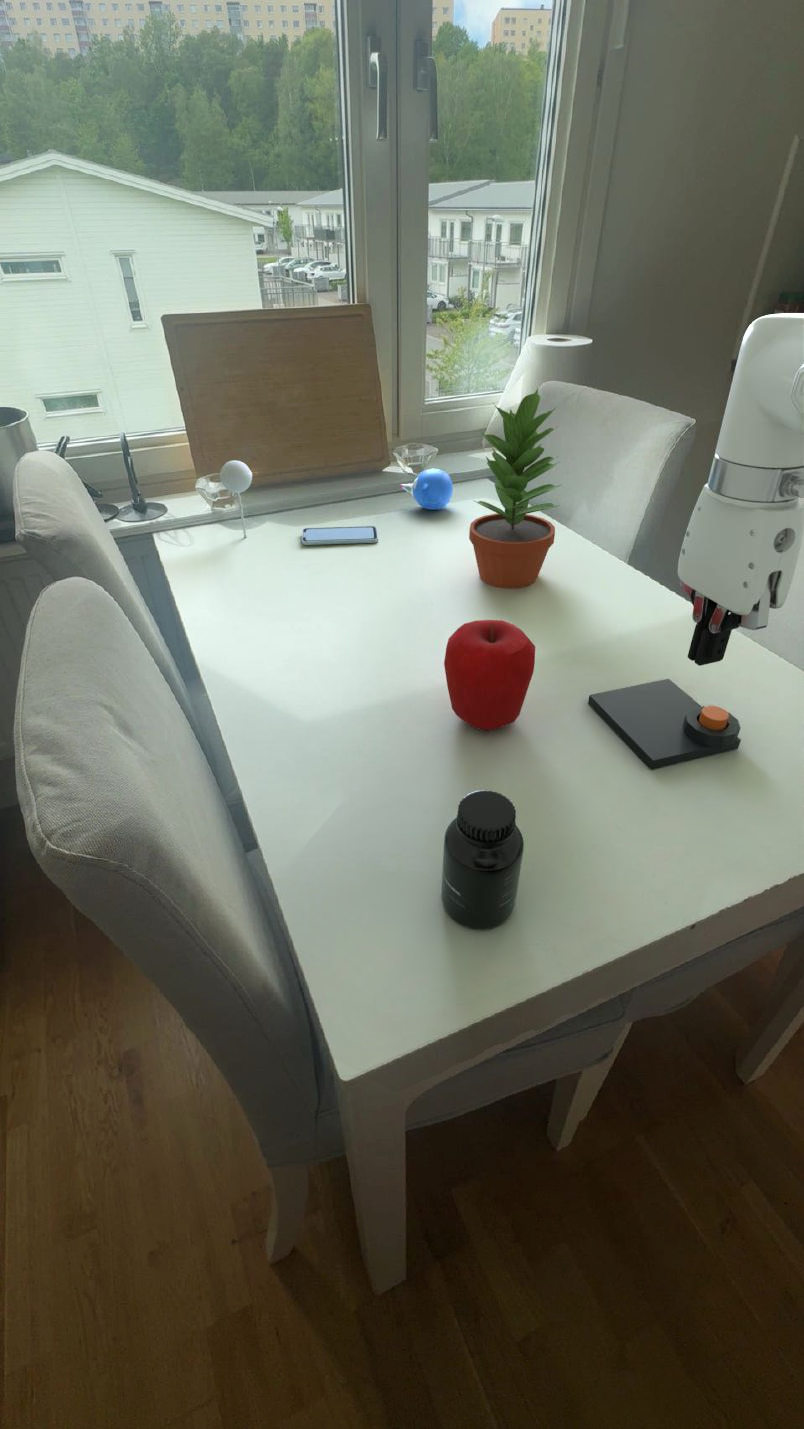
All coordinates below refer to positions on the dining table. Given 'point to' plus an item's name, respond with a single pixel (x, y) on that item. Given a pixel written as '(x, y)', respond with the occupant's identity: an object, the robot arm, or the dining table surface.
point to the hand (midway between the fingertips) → (704, 659)
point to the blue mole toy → (431, 489)
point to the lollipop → (236, 480)
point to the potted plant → (515, 503)
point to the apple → (488, 672)
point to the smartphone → (339, 535)
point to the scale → (662, 723)
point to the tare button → (713, 718)
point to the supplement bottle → (482, 861)
